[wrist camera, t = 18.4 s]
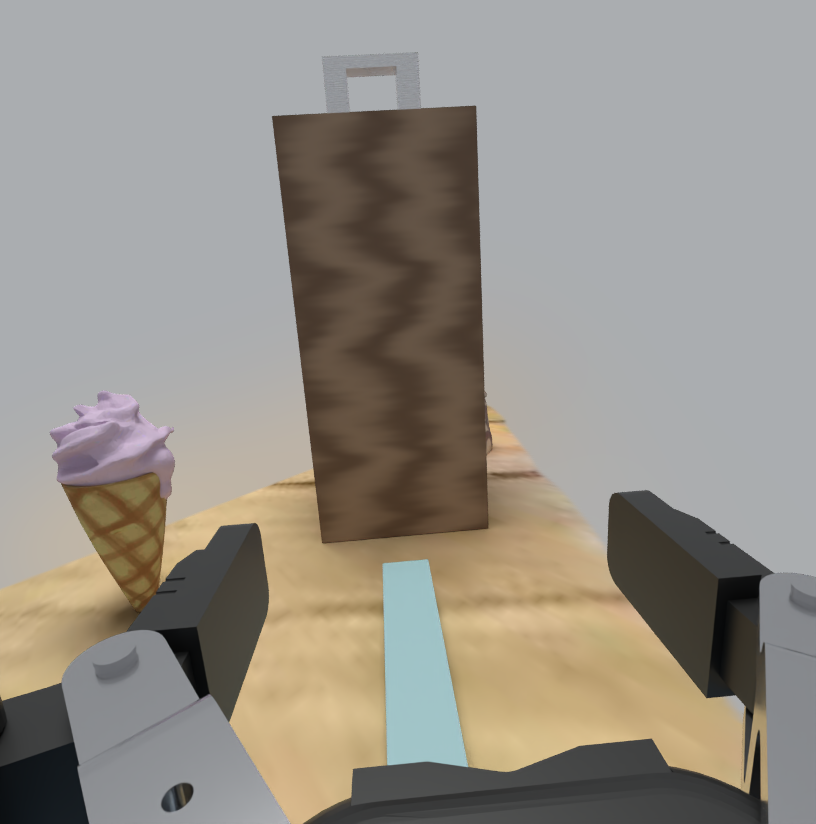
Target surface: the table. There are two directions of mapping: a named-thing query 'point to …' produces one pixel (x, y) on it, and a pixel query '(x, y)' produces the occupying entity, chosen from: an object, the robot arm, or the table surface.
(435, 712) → the peg
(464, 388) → the plinth
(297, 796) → the table surface
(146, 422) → the ice cream cone
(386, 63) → the arch
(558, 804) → the robot arm
